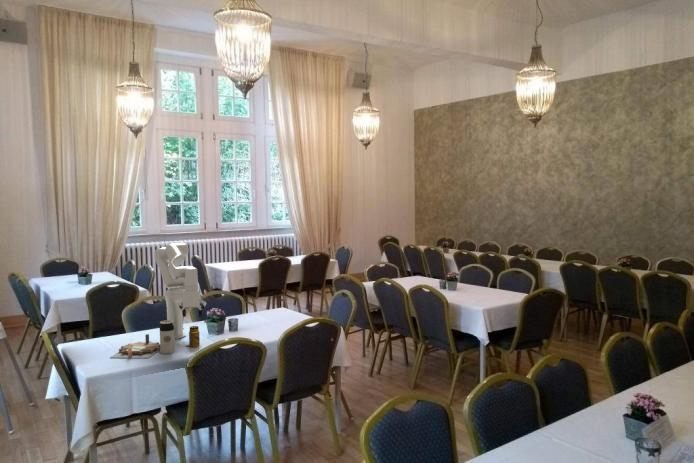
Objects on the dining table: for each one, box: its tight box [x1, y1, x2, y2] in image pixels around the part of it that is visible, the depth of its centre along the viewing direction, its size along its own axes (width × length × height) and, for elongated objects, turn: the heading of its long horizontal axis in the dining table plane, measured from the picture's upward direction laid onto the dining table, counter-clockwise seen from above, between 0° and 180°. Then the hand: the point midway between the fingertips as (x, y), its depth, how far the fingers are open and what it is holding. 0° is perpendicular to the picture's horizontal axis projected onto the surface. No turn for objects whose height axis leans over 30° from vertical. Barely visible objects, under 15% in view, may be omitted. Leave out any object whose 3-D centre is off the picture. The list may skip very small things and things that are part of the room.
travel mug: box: [159, 319, 176, 355], centre depth 317 cm, size 8×8×18 cm
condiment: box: [184, 325, 202, 349], centre depth 328 cm, size 7×8×12 cm
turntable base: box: [109, 348, 160, 360], centre depth 318 cm, size 26×22×6 cm
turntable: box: [118, 333, 160, 354], centre depth 320 cm, size 23×23×7 cm
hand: (192, 316), depth 327 cm, fingers open, 9 cm apart
